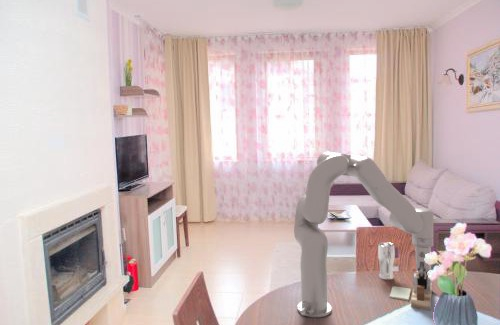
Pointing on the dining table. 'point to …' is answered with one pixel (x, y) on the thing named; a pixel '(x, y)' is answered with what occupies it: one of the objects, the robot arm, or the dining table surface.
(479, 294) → the dining table surface
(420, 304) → the body
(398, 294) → the mat
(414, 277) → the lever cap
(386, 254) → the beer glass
